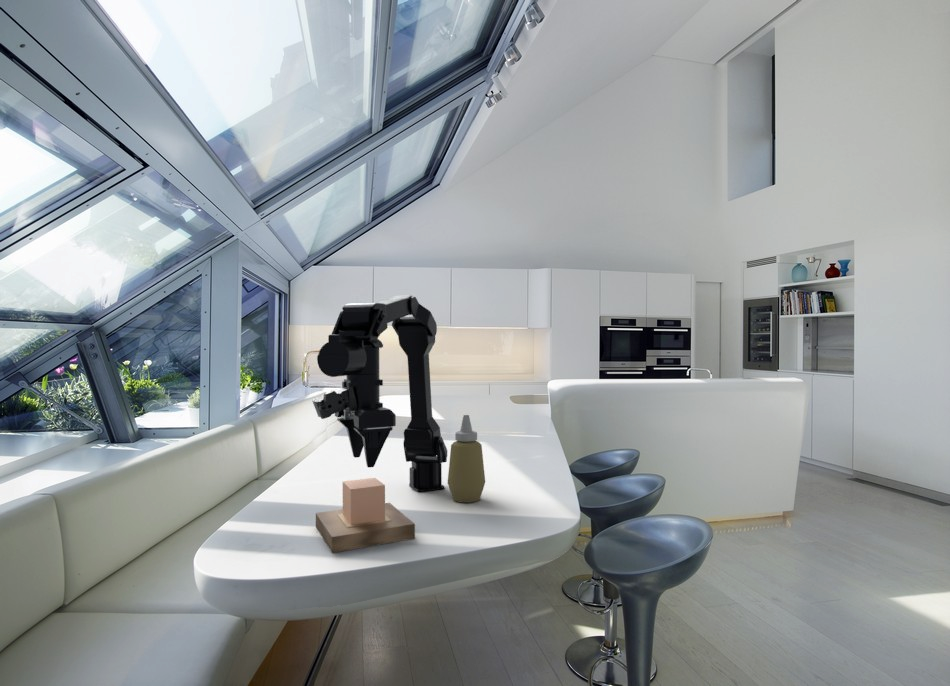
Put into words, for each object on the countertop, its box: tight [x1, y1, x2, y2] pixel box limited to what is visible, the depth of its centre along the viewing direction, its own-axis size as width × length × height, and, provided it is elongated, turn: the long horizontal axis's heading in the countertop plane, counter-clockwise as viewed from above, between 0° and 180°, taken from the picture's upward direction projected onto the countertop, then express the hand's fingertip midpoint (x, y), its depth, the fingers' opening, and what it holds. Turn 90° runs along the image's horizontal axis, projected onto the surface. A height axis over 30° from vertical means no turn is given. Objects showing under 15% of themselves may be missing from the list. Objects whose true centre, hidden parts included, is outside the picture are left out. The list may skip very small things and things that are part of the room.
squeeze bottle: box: [447, 414, 486, 503], centre depth 117 cm, size 8×8×18 cm
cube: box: [342, 477, 386, 525], centre depth 97 cm, size 6×6×6 cm
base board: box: [315, 502, 416, 554], centre depth 96 cm, size 14×14×3 cm
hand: (363, 462), depth 97 cm, fingers open, 9 cm apart
